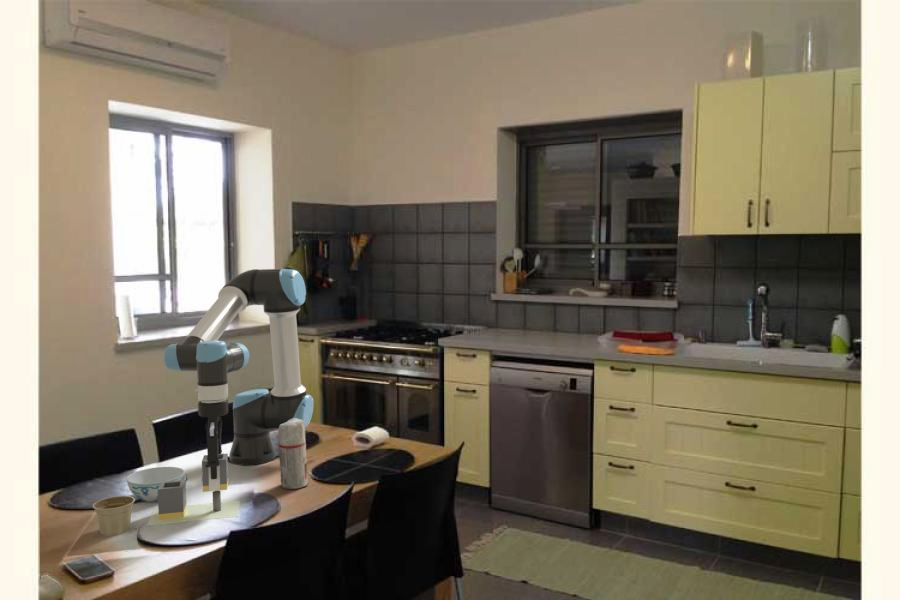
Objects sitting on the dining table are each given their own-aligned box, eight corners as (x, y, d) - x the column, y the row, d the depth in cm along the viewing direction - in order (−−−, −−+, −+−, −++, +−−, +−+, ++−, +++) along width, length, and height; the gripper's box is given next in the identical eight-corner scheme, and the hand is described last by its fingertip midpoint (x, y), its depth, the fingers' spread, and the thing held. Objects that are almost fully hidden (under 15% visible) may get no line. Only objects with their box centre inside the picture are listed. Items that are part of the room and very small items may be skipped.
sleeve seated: (162, 511, 184) (161, 482, 183) (186, 509, 185) (185, 479, 185) (158, 519, 178) (157, 489, 177) (183, 517, 179) (182, 487, 179)
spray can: (301, 491, 203) (299, 423, 201) (275, 489, 204) (273, 422, 203) (312, 481, 211) (311, 416, 210) (287, 480, 213) (285, 416, 211)
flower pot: (103, 529, 176) (102, 496, 175) (141, 527, 177) (140, 494, 176) (87, 544, 167) (85, 509, 166) (128, 543, 168) (126, 508, 167)
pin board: (154, 513, 186) (153, 490, 186) (240, 505, 191) (239, 482, 191) (146, 531, 174) (145, 506, 174) (237, 521, 180) (236, 497, 179)
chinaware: (129, 515, 185) (127, 487, 185) (126, 498, 199) (125, 471, 198) (188, 505, 192) (187, 478, 192) (182, 489, 206) (181, 463, 205)
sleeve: (205, 484, 186) (204, 455, 185) (228, 482, 187) (227, 453, 187) (202, 491, 180) (201, 461, 179) (226, 489, 181) (226, 459, 181)
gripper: (201, 394, 190) (204, 476, 192) (193, 408, 172) (196, 499, 173) (230, 392, 192) (232, 474, 194) (225, 406, 174) (228, 496, 175)
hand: (215, 486), depth 183 cm, fingers closed on sleeve, 6 cm apart
